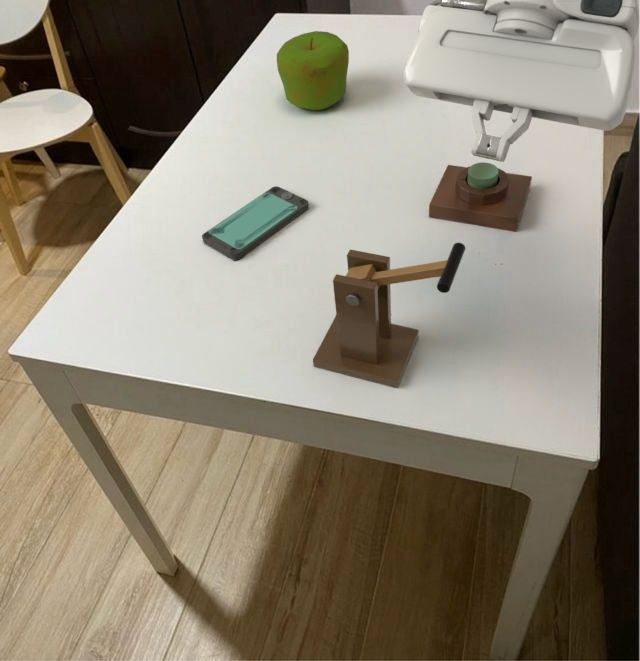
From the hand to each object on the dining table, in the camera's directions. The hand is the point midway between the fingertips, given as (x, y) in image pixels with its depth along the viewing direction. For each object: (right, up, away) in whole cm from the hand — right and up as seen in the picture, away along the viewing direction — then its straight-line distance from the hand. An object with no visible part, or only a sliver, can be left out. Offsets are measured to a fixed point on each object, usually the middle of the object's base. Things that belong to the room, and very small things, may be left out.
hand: (487, 157), depth 60 cm
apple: (-16, +25, +56) cm, 64 cm away
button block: (+7, +2, +32) cm, 33 cm away
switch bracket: (-10, -18, +15) cm, 26 cm away
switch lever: (-7, -11, +5) cm, 14 cm away
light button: (+7, +5, +29) cm, 30 cm away
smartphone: (-24, -1, +33) cm, 42 cm away
